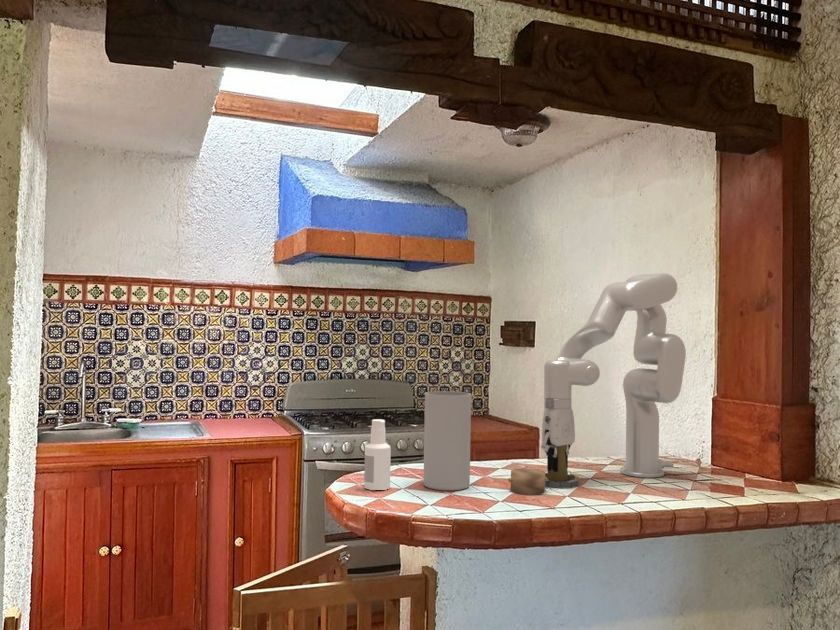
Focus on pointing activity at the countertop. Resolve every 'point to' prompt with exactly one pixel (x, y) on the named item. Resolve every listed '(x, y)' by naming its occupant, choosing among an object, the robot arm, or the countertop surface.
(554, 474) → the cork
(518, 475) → the pot
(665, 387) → the robot arm
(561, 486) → the collar
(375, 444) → the spray bottle
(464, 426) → the cylinder vase
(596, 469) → the countertop surface
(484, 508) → the countertop surface
